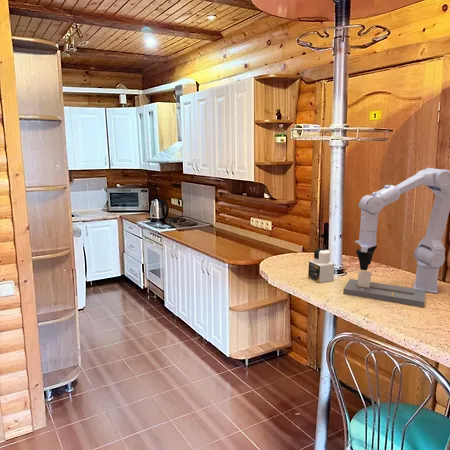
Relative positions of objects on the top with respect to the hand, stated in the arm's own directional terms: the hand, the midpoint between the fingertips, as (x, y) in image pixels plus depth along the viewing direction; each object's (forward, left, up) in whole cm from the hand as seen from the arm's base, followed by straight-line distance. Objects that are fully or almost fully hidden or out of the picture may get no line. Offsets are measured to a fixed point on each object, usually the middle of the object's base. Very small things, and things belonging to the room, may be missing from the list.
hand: (365, 267), depth 147 cm
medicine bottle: (-6, -17, -9) cm, 20 cm away
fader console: (0, +7, -9) cm, 12 cm away
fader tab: (0, 0, -7) cm, 7 cm away
